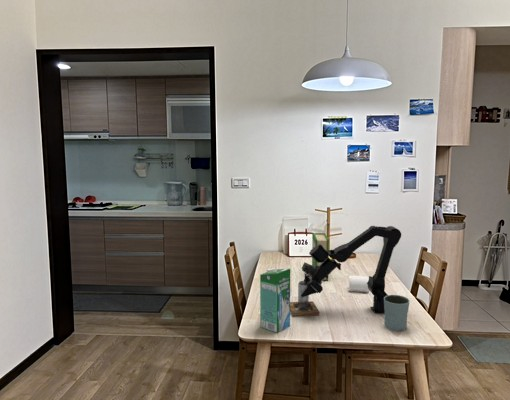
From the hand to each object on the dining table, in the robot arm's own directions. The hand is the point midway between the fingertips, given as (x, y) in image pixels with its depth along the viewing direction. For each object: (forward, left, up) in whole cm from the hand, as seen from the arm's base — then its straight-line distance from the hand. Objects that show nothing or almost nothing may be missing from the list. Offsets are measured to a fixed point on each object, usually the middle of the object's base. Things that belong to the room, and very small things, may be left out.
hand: (300, 292), depth 183 cm
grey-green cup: (-20, -36, -9) cm, 42 cm away
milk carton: (-15, +14, -9) cm, 22 cm away
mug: (+25, -36, -9) cm, 45 cm away
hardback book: (+49, -21, -9) cm, 54 cm away
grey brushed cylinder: (0, -1, -9) cm, 9 cm away
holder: (0, -1, -9) cm, 9 cm away
